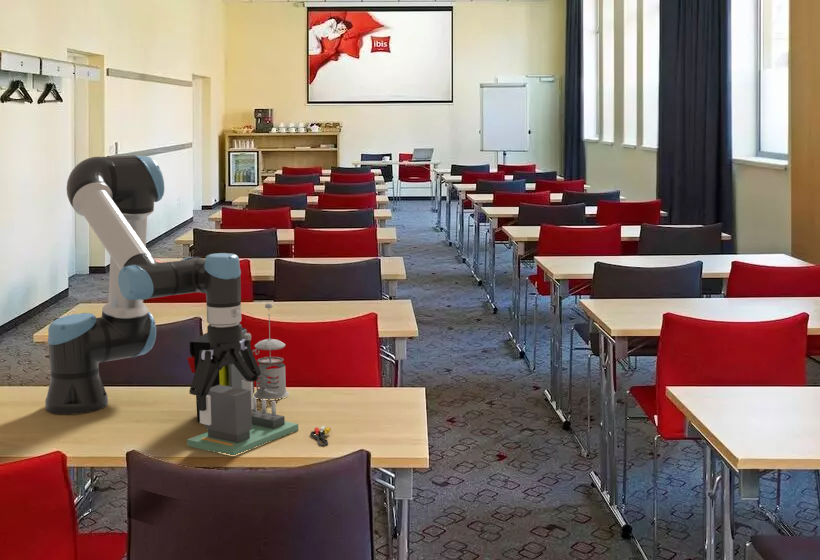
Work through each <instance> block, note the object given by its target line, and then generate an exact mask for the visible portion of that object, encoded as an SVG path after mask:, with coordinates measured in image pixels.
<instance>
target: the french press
mask: <svg viewBox="0 0 820 560" xmlns="http://www.w3.org/2000/svg"><path fill="white" fill-rule="evenodd" d="M264 308H265V309H268V310H270V309H272V308H273V305H272V303H271V302H270V303H269V302H268V303H266V304H265V306H264ZM270 320H271V319H270V315H268V331H269V332H268V335H269V336H268V337H269V338H266V339H265V338H264V339H263V340H259V341H258V342H257V343H255V344H254V347H255V349H253V350H252V353H253V354H255V355H256V356H257V355H258V356H259V354H260V351H261V350H262V351H269V356H264V357H260V358H258V359H256V362H257V364H258V367H259V369H260V372H261V375H260V376H258V380H257V381H255V383H256V392H254V393H253V395H254V397H256V398H258V399H268V400H270V399H279V398H283V397H286V396H288V395H289V394H290V393H289V392H288V390H286V389H287V387H286V365H285V363H283V362H284V361H285V359H284V358H283V357H279V356H272V355H271V353H272V352H271V351H276V350H281V349H284V348H285V347H286V343H284V342H282V341H281V340H279V339H274V338H271V321H270ZM257 350H258V351H257ZM270 367H274V368H270ZM276 367H277V368H276ZM268 368H269V369H268ZM288 397H289V396H288ZM258 399H257V400H258Z"/></svg>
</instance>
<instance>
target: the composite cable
mask: <svg viewBox="0 0 820 560" xmlns="http://www.w3.org/2000/svg"><path fill="white" fill-rule="evenodd" d="M331 431H332V427H331V426H330V427H327V426H326V425H325V424H323V425H321V426H320V428H319V427H318V426H315V428H314V430H312V431H310V434H309V436H310V437H311V438H313V439H315V440H316V439H317V440H316V441H317V445H318V446H320V447H328V445H329V441H328V439H325V437H324V436H326V435H328V434H329V433H331ZM314 434H316V435H314ZM321 442H322V443H321Z"/></svg>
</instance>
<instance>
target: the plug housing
mask: <svg viewBox="0 0 820 560" xmlns="http://www.w3.org/2000/svg"><path fill="white" fill-rule="evenodd" d="M207 395H209V396H210V399H211V425H205V424H204V428H205V429H207V430H208V429H210V430H215V431H219V432H223V433H228V434H232V435H239V434H242V433H244V432H247V431H249V430H252V413H251V412H252V410H251V391H250V390H245V389H239V388H234V387H229V386H224V385H217V386H214V387H211V388H210V390H209V392H208V394H207Z"/></svg>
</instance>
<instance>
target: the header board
mask: <svg viewBox="0 0 820 560" xmlns="http://www.w3.org/2000/svg"><path fill="white" fill-rule="evenodd" d="M253 403H254V409H252V410H251V413H252V430H249V431H247V432H244V433H242V434H239V435H232V434H228V433H223V432H219V431H215V430H210V429H207V431H206V432H203V433H201V434H198V435H196V436H193V437H190V438H187V439H186V443H187V447H190V448H195V449H199V450H202V449H203V451H207V450H209V451H208V452H211V451H215V452H221V453H226V454H230V455H236V454H238V453H241V452H244V451H246V450H249V449H252V448H254V447H256V446H259V445H261V446H263V445H262V444H264V443H266V442H269V441H271V442H273V441H276V440H278V439H280V438H279V437H281V438H282V436H283V437H285V436H288V435H289V433H290V434H292V432H293V433H294V432H297V431H299V423H295V422H291V421H286V420H285V416H284V415H279V414H277V410H276V409H277V408H276V407H277V404H276V403H277V402H276V400H271V402H270V403H271V404H270V405H271V412H267V400H265V399H262V400H261V411H260V410H257V408H258V405H257V399H256V397H253ZM287 434H288V435H287ZM277 438H278V439H277ZM275 439H276V440H275ZM272 440H273V441H272ZM269 443H270V442H269ZM266 444H267V443H266ZM264 445H265V444H264ZM259 447H260V446H259ZM256 448H257V447H256ZM254 449H255V448H254ZM252 450H253V449H252ZM249 451H250V450H249ZM215 452H214V453H215ZM244 453H245V452H244Z"/></svg>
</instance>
